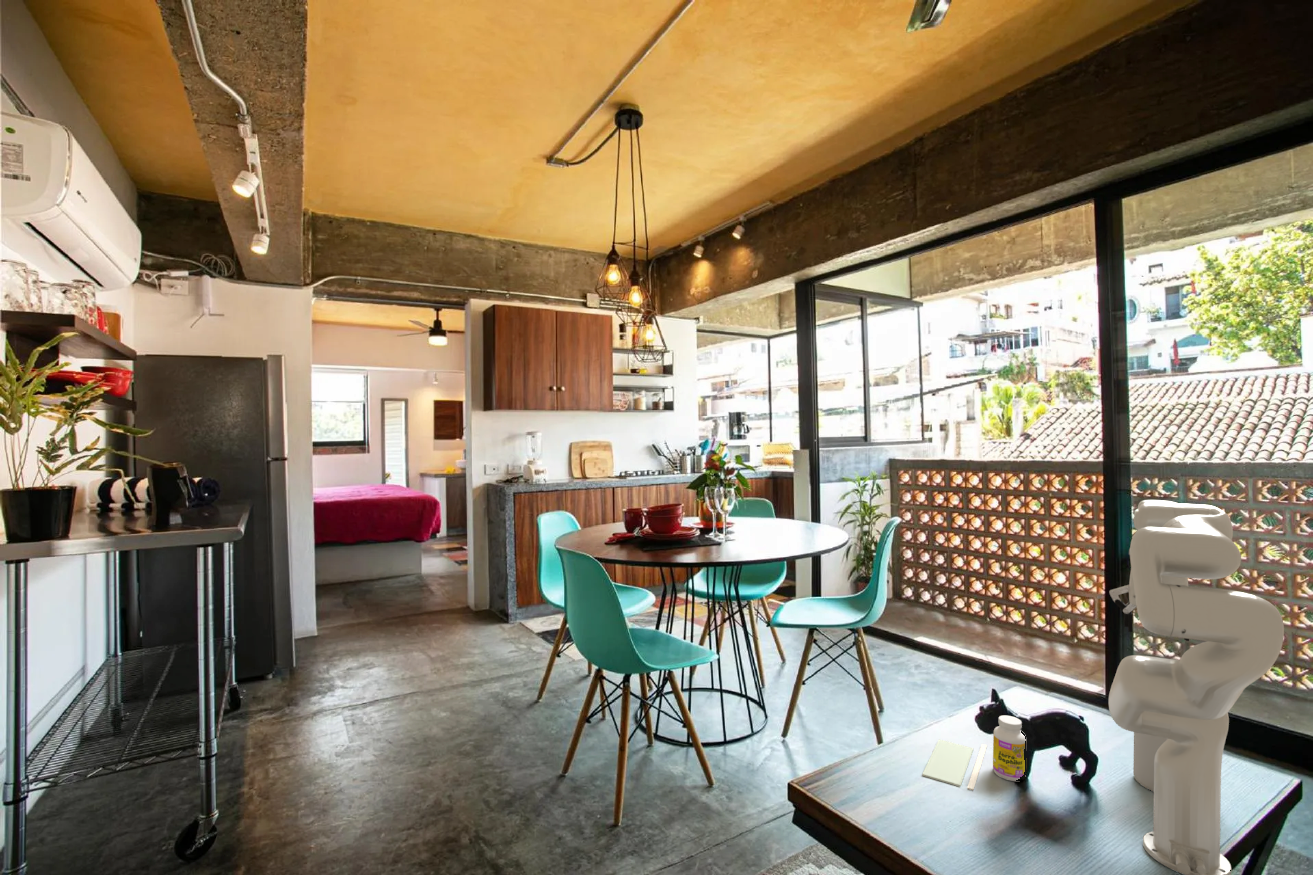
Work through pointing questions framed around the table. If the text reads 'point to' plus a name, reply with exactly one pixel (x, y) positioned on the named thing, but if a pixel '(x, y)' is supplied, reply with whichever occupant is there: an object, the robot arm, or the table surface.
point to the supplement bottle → (1008, 748)
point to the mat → (948, 762)
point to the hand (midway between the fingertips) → (1157, 634)
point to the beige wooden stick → (977, 767)
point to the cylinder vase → (1145, 758)
